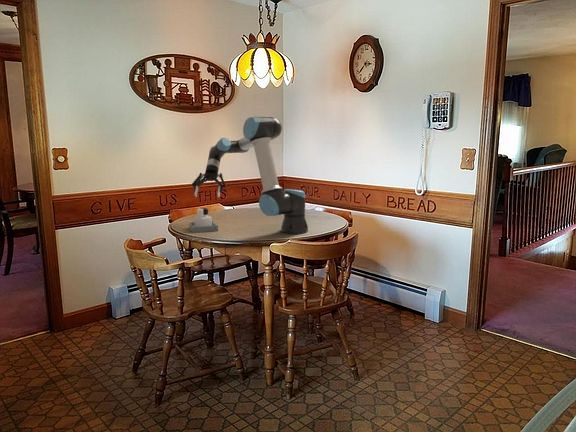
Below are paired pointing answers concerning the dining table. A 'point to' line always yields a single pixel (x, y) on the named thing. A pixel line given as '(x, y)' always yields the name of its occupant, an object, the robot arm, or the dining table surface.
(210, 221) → the medicine bottle
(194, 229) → the pill tray
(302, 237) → the dining table surface
